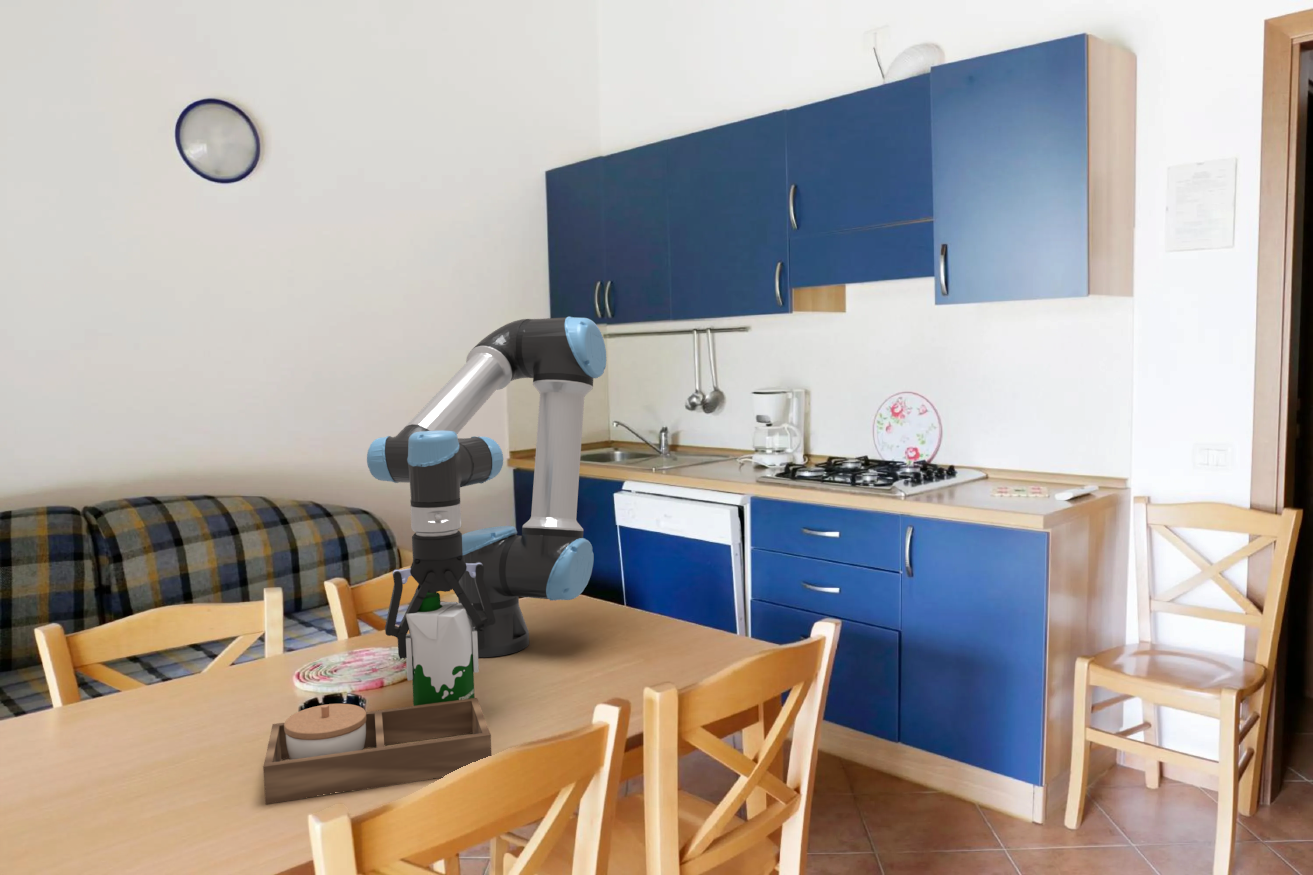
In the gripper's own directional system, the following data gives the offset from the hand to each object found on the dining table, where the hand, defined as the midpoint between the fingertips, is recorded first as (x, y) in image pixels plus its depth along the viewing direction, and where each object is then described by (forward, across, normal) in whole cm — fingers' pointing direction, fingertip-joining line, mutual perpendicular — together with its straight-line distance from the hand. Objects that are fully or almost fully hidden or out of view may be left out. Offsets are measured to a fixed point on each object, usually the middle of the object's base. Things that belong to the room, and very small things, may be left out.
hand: (442, 673), depth 149 cm
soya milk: (+8, 0, 0) cm, 8 cm away
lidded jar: (+8, -17, -13) cm, 23 cm away
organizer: (+8, -10, -13) cm, 18 cm away
